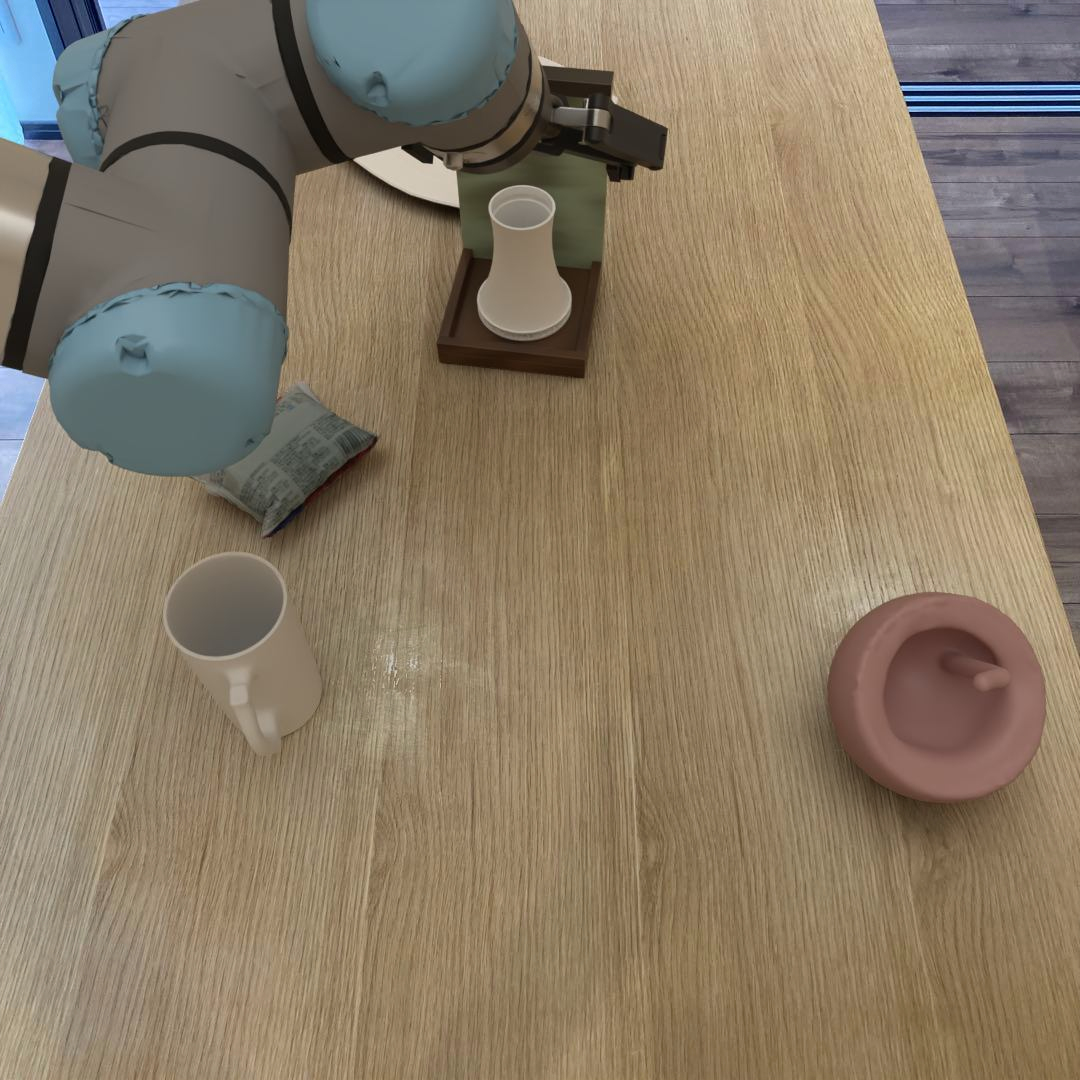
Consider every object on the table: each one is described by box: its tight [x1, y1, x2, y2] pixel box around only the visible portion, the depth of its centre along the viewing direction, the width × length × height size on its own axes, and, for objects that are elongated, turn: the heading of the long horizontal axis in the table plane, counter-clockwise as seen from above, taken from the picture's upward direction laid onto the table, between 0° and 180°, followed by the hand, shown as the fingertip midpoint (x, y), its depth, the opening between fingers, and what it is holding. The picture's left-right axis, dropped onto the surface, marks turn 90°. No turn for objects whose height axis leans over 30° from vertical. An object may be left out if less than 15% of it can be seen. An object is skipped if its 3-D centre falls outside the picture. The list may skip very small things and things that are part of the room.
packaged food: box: [188, 380, 382, 540], centre depth 74 cm, size 9×12×5 cm
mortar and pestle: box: [826, 591, 1047, 804], centre depth 60 cm, size 12×12×11 cm
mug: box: [162, 551, 323, 757], centre depth 61 cm, size 10×7×12 cm, turn 13°
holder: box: [436, 65, 615, 379], centre depth 77 cm, size 12×12×18 cm
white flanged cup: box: [477, 185, 572, 341], centre depth 79 cm, size 8×8×10 cm
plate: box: [352, 55, 619, 210], centre depth 96 cm, size 23×23×2 cm
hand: (522, 153), depth 74 cm, fingers open, 13 cm apart
